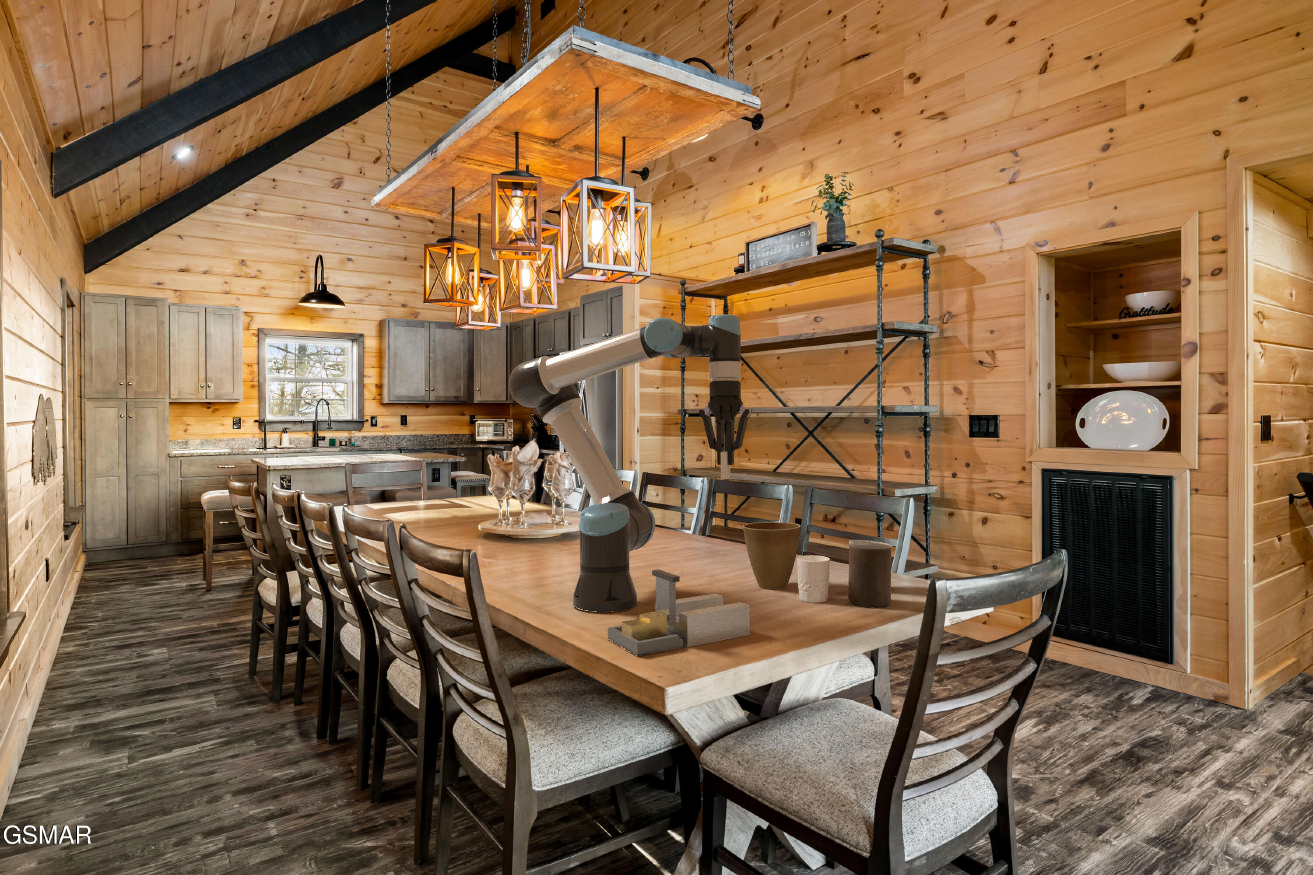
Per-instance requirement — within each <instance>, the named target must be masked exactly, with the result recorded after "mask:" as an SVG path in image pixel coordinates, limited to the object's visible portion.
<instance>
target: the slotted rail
mask: <svg viewBox="0 0 1313 875" xmlns="http://www.w3.org/2000/svg"><path fill="white" fill-rule="evenodd" d="M750 607H751V606H750V604H746V603H744V602H740V601H739V602H736V603H735V602H734V603H729V604H724V596H723V595H721V594H718V593H710V594H703V595H698V596H697V595H696V596H690V597H685V598H679V599H677V598H676V621H673V622H668V633H669V634H671V635H675V634H676V635H678V636H679V638H680V639H682V640H683V647H687V648H690V647H694V646H695V647H696V646H701V645H705V644H711V643H715V642H719V641H725V640H731V639H736V638H742V637H746V636H750V635H751V631H750V630H751V627H750V626H751V617H750V616H751V613H750V612H751V609H750Z"/></svg>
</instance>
